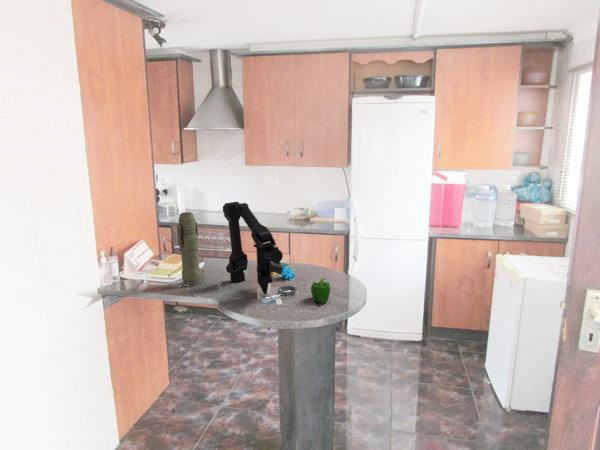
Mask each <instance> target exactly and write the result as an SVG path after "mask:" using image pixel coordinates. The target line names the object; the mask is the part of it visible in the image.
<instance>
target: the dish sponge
mask: <svg viewBox="0 0 600 450" xmlns="http://www.w3.org/2000/svg"><path fill="white" fill-rule="evenodd" d="M280 264H283V265H287V266H286V268H287V267H288V266H289V267H290V264H289V263H283V262H280ZM270 274H271V276H275V275H277V274H278V273H275V272H272V273H270Z"/></svg>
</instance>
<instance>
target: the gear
mask: <svg viewBox="0 0 600 450" xmlns="http://www.w3.org/2000/svg"><path fill="white" fill-rule="evenodd" d="M282 265H283V264H282ZM286 266H287V265H283V271H282V274H281V278H284V279H285V280H287V279H288V280H287V281H292V280H293V279H294V278H295V277H296V273H294V271H295V270H294V268H292V269H291V267H290V265H289V266H288V267H287V268H286Z"/></svg>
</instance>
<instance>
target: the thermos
mask: <svg viewBox="0 0 600 450" xmlns="http://www.w3.org/2000/svg"><path fill="white" fill-rule="evenodd" d="M194 215H195V214H194V213H193V212H191V211H190V212H189V211H188V212H187V211H185V212H181V213H180V214H179V217H178V224H177V227H176V233H177V244H178V246H179V251H180V255H181V265H182V269H181V279H182V284H183V283H184V284H185V285H189V286H192V287H196V286H195V285H197V286H199V284H200V285H201V284H202V280H201V279H202V273H201V270H202V269H201V268H200V259H199V228H198V227H199V226H198V222H197V221H196V218H195V216H194Z"/></svg>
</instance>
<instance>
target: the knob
mask: <svg viewBox="0 0 600 450" xmlns="http://www.w3.org/2000/svg"><path fill="white" fill-rule="evenodd" d="M270 287H271V283H269V284H268V288H267V294H264V293H263V291H262V289H261V287H260V285H259V284H258V288H259V291H260V295H269V294H270Z"/></svg>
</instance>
